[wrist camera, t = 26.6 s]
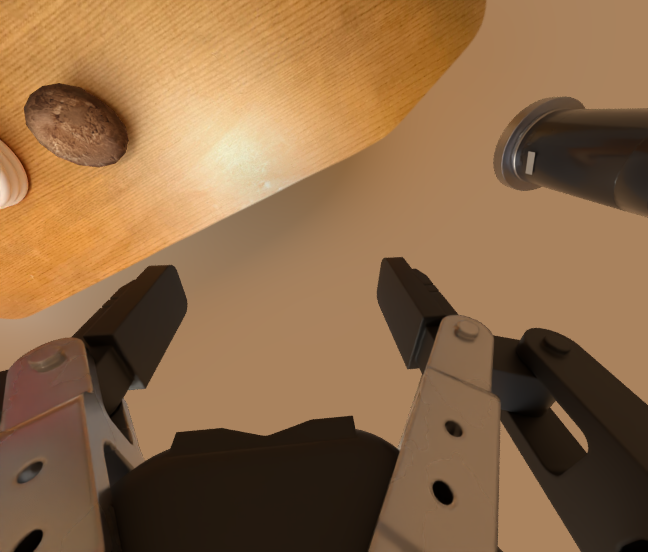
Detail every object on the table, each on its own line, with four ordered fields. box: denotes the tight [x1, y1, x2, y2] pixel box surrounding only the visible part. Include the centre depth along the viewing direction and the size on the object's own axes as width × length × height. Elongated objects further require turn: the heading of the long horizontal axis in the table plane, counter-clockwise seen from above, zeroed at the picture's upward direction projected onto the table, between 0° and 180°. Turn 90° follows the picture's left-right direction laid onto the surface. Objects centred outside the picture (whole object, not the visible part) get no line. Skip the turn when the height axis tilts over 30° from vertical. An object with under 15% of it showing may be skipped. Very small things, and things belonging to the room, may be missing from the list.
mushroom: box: [24, 83, 129, 167], centre depth 28 cm, size 8×8×6 cm
